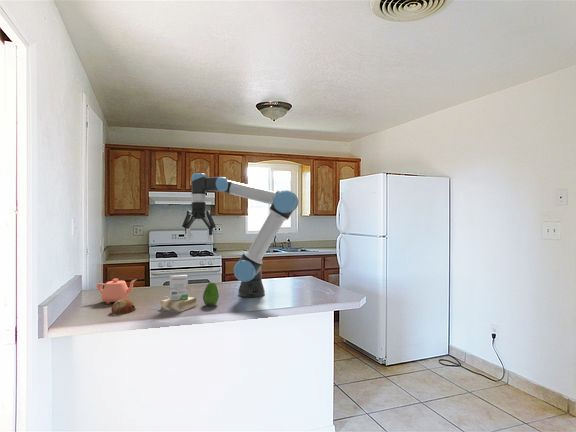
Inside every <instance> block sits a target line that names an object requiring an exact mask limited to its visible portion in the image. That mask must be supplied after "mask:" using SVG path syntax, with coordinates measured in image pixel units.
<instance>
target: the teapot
mask: <svg viewBox="0 0 576 432" xmlns="http://www.w3.org/2000/svg"><path fill="white" fill-rule="evenodd" d="M137 280H138V279H132V280H131V281H130V283H129V287H128V285H127V283H126V281H125V280H119V278H113V279H112V280H110V281H107V282H105V283H102V282H100V283H96V288H97V290H98V291H99V292H100V294H101V299H102V301H103V302H105V304H107V305H110V304H111V303H115V302H116V301H118V300H120V299H127V300H128V297H129V295H130V294H131V293H132V291H133V289H134V283H135V282H136V281H137ZM102 286H103V289H102Z"/></svg>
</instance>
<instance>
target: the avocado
mask: <svg viewBox="0 0 576 432" xmlns="http://www.w3.org/2000/svg"><path fill="white" fill-rule="evenodd" d="M219 295H220V293H219V290H218V286H217V284H216V282H208V283H207V285H206V287H205V289H204V291H203V295H202V301H203V303H204V304H205V306H207V307H213V306H215V305H217V304H218V301H219V298H220V297H219Z"/></svg>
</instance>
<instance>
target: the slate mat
mask: <svg viewBox="0 0 576 432" xmlns="http://www.w3.org/2000/svg"><path fill="white" fill-rule="evenodd" d="M196 306H198V304H196ZM196 306H194V307H193V308H195V307H196ZM148 310H153V311H161V312H163V311H164V312H169V313H177V314H178V313H181V312H183V311H181V312H180V311H172V310H164V309H161V304H157V305H156V306H153V307H152V306H151V307H149V308H148Z"/></svg>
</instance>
